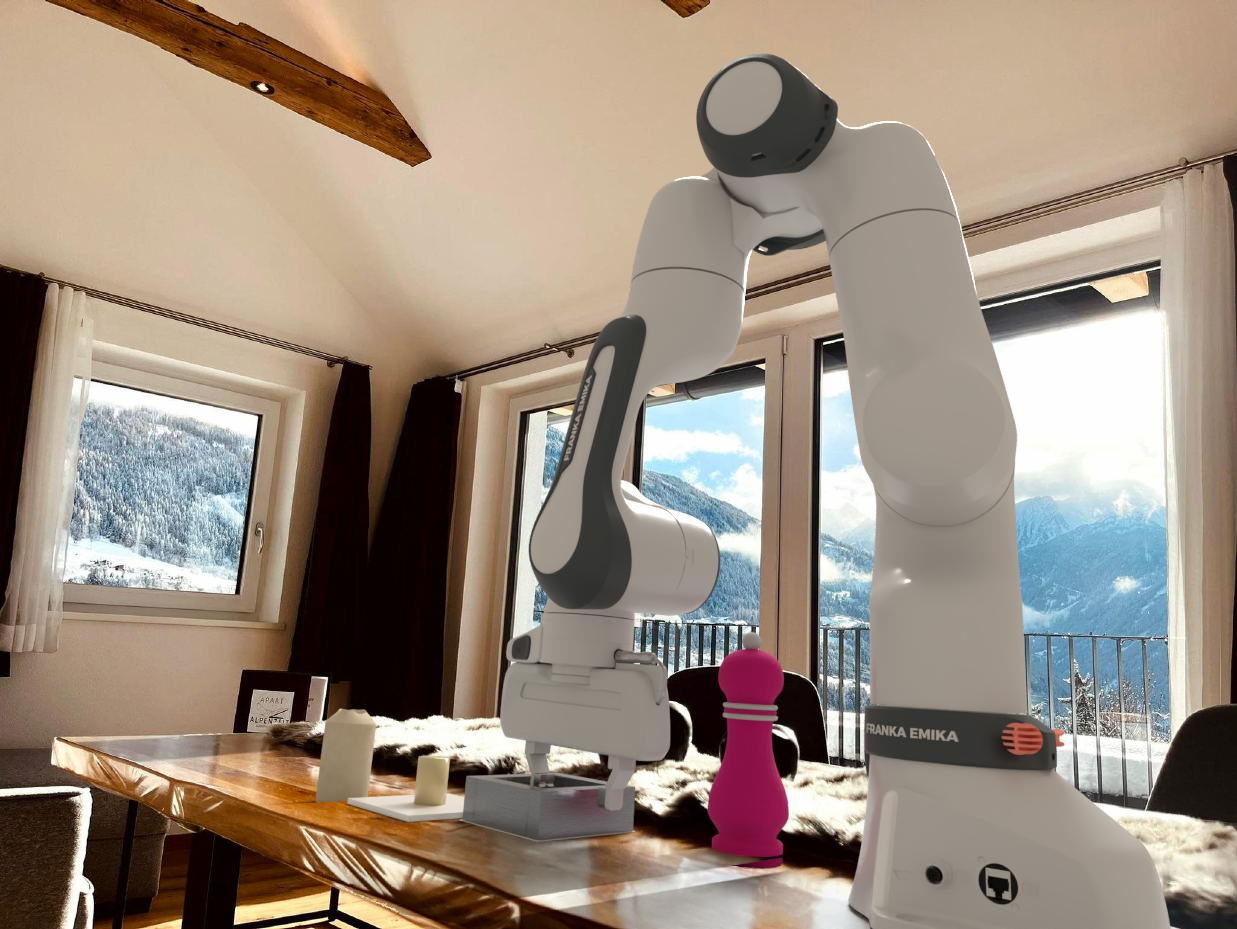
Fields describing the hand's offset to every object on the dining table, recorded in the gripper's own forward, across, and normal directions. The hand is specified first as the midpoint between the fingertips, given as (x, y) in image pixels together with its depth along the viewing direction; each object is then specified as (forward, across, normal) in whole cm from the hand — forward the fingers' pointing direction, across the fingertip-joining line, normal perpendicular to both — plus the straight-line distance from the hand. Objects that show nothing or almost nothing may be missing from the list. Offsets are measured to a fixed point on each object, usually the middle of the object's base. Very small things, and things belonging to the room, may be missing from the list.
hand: (574, 800), depth 82 cm
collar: (+3, +4, -1) cm, 5 cm away
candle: (+5, +30, +7) cm, 32 cm away
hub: (+4, +17, +4) cm, 18 cm away
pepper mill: (+4, -13, -10) cm, 16 cm away
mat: (+4, +4, -1) cm, 6 cm away
